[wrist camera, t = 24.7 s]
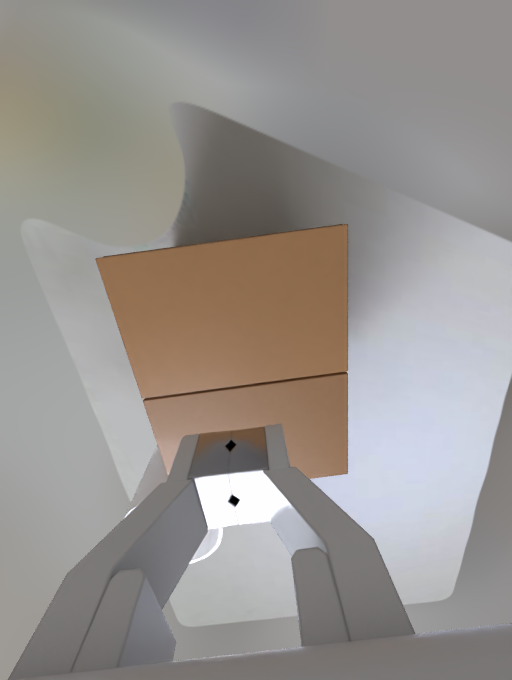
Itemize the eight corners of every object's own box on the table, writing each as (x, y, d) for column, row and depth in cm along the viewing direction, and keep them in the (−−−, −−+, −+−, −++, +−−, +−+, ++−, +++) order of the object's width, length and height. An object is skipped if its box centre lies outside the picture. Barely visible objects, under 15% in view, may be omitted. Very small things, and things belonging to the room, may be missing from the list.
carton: (172, 254, 26) (93, 256, 12) (295, 237, 26) (349, 221, 12) (204, 393, 32) (174, 497, 18) (304, 379, 32) (348, 474, 18)
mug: (149, 426, 33) (101, 513, 22) (234, 401, 32) (228, 478, 21) (177, 476, 36) (148, 574, 25) (255, 454, 35) (260, 545, 24)
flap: (99, 258, 13) (94, 258, 12) (345, 224, 13) (348, 223, 12) (144, 395, 16) (141, 398, 15) (345, 368, 16) (348, 371, 15)
